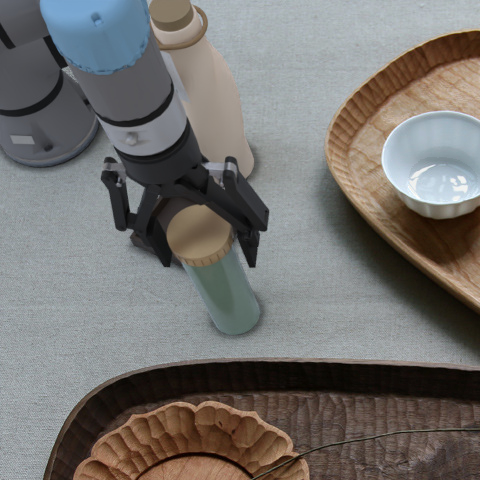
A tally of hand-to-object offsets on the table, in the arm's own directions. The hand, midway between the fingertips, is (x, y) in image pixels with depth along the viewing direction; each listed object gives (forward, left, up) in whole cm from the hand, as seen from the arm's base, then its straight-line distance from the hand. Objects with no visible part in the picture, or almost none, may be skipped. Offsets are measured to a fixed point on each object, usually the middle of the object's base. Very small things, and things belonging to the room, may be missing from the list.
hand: (211, 257), depth 97 cm
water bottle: (-14, +20, -14) cm, 28 cm away
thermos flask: (0, 0, -14) cm, 14 cm away
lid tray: (-13, +8, -14) cm, 21 cm away
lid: (0, 0, +5) cm, 5 cm away
